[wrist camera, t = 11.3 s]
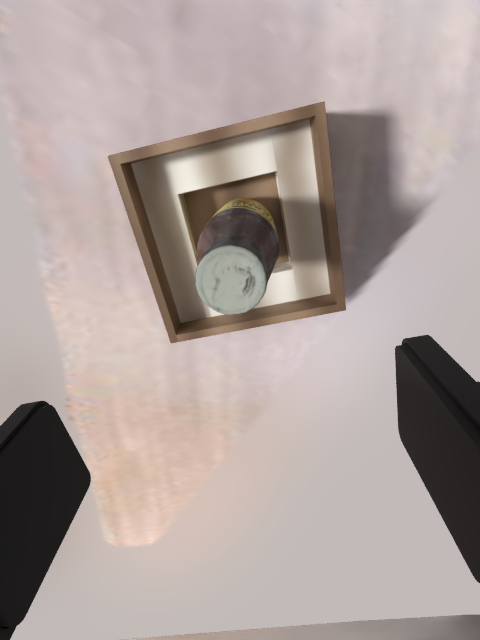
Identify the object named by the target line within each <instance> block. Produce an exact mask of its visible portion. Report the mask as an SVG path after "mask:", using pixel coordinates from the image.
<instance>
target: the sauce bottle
mask: <svg viewBox="0 0 480 640" xmlns="http://www.w3.org/2000/svg"><path fill="white" fill-rule="evenodd" d="M279 252H280V244H279V238H278V235H277V231H276V228H275V224H274V222H273V219H272V216H271V214H270V213H269V211H268V210H267V209H266V208H265V207H264V206H263V205H262V204H261V203H260V202H258V201H256V200H253V199H249V198H239V199H234V200H232V201H229V202H228V203H226V204H225V205H224V206H223V207H222V208H221V209H220V210H219V211H218V212H217V213H216V214H215V215H214V216H213V217H212V218H211V219H210V220H209V222H208V223H207V225H206V226H205V227H204V229H203V231H202V233H201V235H200V237H199V241H198V247H197V260H198V262H199V263H198V266H197V269H196V273H195V286H196V288H197V292H198V294H199V296H200V298H201V299H202V301H203V302H204V303H205V304H206V305H207V306H209V307H210V308H212V309H213V310H215V311H216V312H219V313H222V314H226V315H234V314H241V313H245V312H247V311H249V310H251V309H253V308H254V307H255V306H256V305H257V304H258V303H259V302H260V300H261V299H262V298H263V296H264V294H265V292H266V289H267V283H268V280H269V278H270V276H271V273H272V271H273V269H274V266H275V264H276V262H277V259H278V257H279Z"/></svg>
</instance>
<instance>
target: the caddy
mask: <svg viewBox="0 0 480 640" xmlns="http://www.w3.org/2000/svg"><path fill="white" fill-rule="evenodd" d="M108 158H109V161H110V164H111V167H112V170H113V173H114V176H115V179H116V182H117V185H118V188H119V191H120V194H121V197H122V200H123V203H124V206H125V209H126V212H127V215H128V218H129V221H130V224H131V227H132V229H133V232H134V235H135V238H136V241H137V244H138V247H139V250H140V253H141V256H142V259H143V262H144V265H145V268H146V271H147V274H148V277H149V280H150V283H151V286H152V289H153V292H154V295H155V298H156V301H157V304H158V306H159V309H160V312H161V315H162V318H163V321H164V324H165V327H166V330H167V333H168V336H169V339H170V342H171V343H175V342H181V341H186V340H191V339H196V338H202V337H207V336H212V335H217V334H223V333H228V332H233V331H239V330H244V329H249V328H254V327H260V326H265V325H270V324H275V323H281V322H286V321H291V320H297V319H302V318H307V317H312V316H318V315H323V314H328V313H333V312H339V311H344V310H346V305H345V295H344V285H343V275H342V266H341V256H340V246H339V237H338V227H337V217H336V207H335V198H334V188H333V178H332V169H331V159H330V149H329V139H328V130H327V120H326V110H325V101H324V102H320V103H316V104H312V105H308V106H304V107H300V108H296V109H292V110H288V111H284V112H280V113H276V114H272V115H268V116H264V117H260V118H256V119H252V120H248V121H244V122H241V123H237V124H233V125H229V126H225V127H221V128H217V129H213V130H209V131H205V132H201V133H197V134H193V135H189V136H185V137H181V138H177V139H173V140H169V141H165V142H161V143H157V144H153V145H149V146H145V147H141V148H137V149H133V150H129V151H125V152H121V153H117V154H113V155H109V156H108ZM239 198H249V199H253V200H256V201H258V202H260V203H261V204H262V205H263V206H264V207H265V208H266V209H267V210H268V211H269V213H270V214H271V216H272V219H273V222H274V224H275V228H276V231H277V235H278V238H279V244H280V252H279V257H278V259H277V262H276V264H275V266H274V269H273V271H272V273H271V276H270V278H269V280H268V283H267V289H266V292H265V294H264V296H263V298H262V299H261V300H260V302H259V303H258V304H257V305H256V306H255V307H254V308H253V309H251V310H249V311H247V312H245V313H241V314H234V315H226V314H222V313H219V312H216V311H215V310H213V309H212V308H210V307H209V306H207V305H206V304H205V303H204V302H203V301H202V299H201V298H200V296H199V294H198V292H197V288H196V286H195V273H196V269H197V266H198V263H199V262H198V260H197V247H198V241H199V237H200V235H201V233H202V231H203V229H204V227H205V226H206V225H207V223H208V222H209V220H210V219H211V218H212V217H213V216H214V215H215V214H216V213H217V212H218V211H219V210H220V209H221V208H222V207H223V206H224V205H225V204H226V203H228V202H229V201H232V200H234V199H239Z"/></svg>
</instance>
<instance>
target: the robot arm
mask: <svg viewBox="0 0 480 640" xmlns="http://www.w3.org/2000/svg"><path fill="white" fill-rule="evenodd" d="M395 358H396V359H395V360H396V384H397V407H398V429H399V434H400V438H401V441H402V443H403V445H404V447H405V448H406V450H407V452H408V454H409V456H410V458H411V460H412V462H413V464H414V466H415V467H416V469H417V471H418V473H419V475H420V477H421V479H422V481H423V482H424V484H425V486H426V488H427V490H428V492H429V494H430V496H431V497H432V499H433V501H434V503H435V505H436V507H437V509H438V511H439V513H440V514H441V516H442V518H443V520H444V522H445V524H446V526H447V528H448V530H449V531H450V533H451V535H452V537H453V539H454V541H455V543H456V545H457V546H458V548H459V550H460V552H461V554H462V556H463V558H464V559H465V561H466V563H467V565H468V567H469V569H470V571H471V573H472V574H473V576H474V578H475V579H476V580H477V582H479V583H480V382H476V381H475V380H474V379H473V378H472V377H471V376H470V375H469V374H468V373H467V372H466V371H465V370H464V369H463V368H462V367H461V366H460V365H459V364H458V363H457V362H456V361H455V360H454V359H453V358H452V357H451V356H450V355H449V354H448V353H447V352H446V351H444V349H443V348H442V347H441V346H440V345H439V344H438V343H437V342H436V341H435V340H433V338H432V337H430V336H429V335H424V336H418V337H412V338H406V339H403V341H402V345H399V346H396V348H395ZM90 481H91V477H90V473H89V470H88V469H87V467H86V465H85V463H84V461H83V459H82V457H81V456H80V454H79V452H78V450H77V448H76V446H75V445H74V443H73V441H72V439H71V437H70V436H69V433H68V432H67V430H66V428H65V426H64V424H63V422H62V421H61V419H60V417H59V415H58V413H57V411H56V410H55V408H54V407H53V406H52V405H49V404H48V403H47V402H45V401H38V402H33V403H26V404H22V405H20V406H19V407H18V408H17V409H16V410H15V411H14V412H13V413H12V414H11V416H9V418H8V419H7V420H6V421H5V422H4V423H3V424H2V425H1V426H0V640H10V638H11V636H12V634H13V632H14V630H15V628H16V626H17V625H18V624H20V623H21V622H22V621H23V619H24V617H25V616H26V614H27V612H28V610H29V608H30V606H31V604H32V602H33V600H34V598H35V596H36V594H37V592H38V590H39V587H40V585H41V583H42V581H43V579H44V577H45V575H46V573H47V571H48V569H49V567H50V565H51V563H52V561H53V559H54V557H55V555H56V553H57V551H58V549H59V547H60V545H61V543H62V541H63V539H64V537H65V535H66V532H67V531H68V529H69V527H70V524H71V523H72V520H73V518H74V516H75V514H76V512H77V510H78V508H79V506H80V504H81V502H82V500H83V498H84V496H85V494H86V492H87V490H88V488H89V486H90ZM126 640H480V615H456V616H438V617H421V618H405V619H404V618H403V619H386V620H368V621H353V622H340V623H327V624H315V625H301V626H289V627H275V628H262V629H249V630H236V631H223V632H210V633H198V634H186V635H174V636H161V637H149V638H137V639H126Z"/></svg>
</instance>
